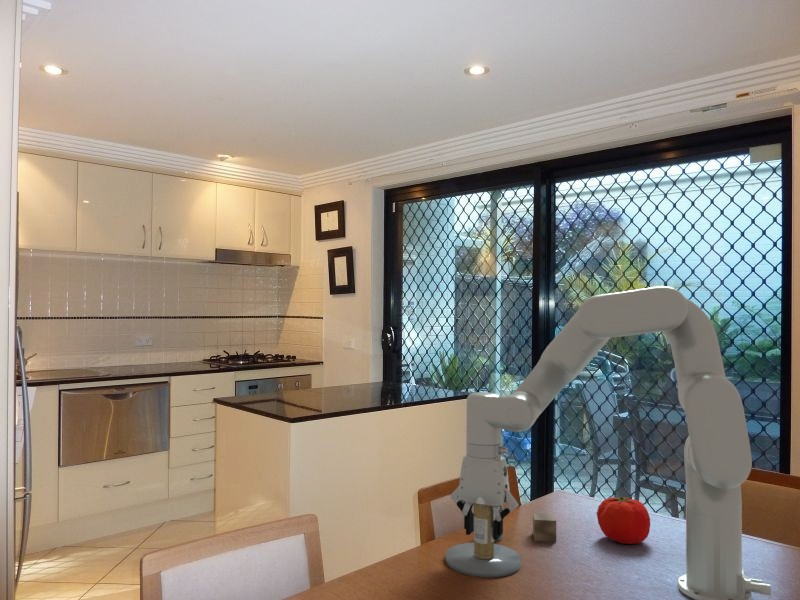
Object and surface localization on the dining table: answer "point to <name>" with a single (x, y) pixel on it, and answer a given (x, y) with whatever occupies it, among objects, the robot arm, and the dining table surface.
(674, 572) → the dining table surface
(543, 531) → the walnut block
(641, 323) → the robot arm
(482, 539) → the sprinkles bottle
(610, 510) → the tomato
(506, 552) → the grey plate
